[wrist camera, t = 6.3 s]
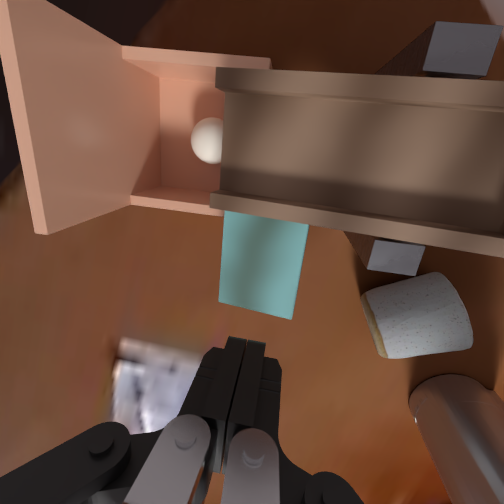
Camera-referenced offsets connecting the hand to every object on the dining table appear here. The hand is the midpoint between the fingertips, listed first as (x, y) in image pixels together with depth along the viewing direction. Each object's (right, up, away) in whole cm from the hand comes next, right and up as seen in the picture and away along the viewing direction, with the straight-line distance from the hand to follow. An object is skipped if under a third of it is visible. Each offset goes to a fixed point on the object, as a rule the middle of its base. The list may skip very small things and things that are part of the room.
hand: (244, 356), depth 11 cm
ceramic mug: (+18, -2, +21) cm, 28 cm away
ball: (-3, +14, +14) cm, 21 cm away
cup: (-4, +16, +17) cm, 23 cm away
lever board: (+10, +9, +14) cm, 19 cm away
